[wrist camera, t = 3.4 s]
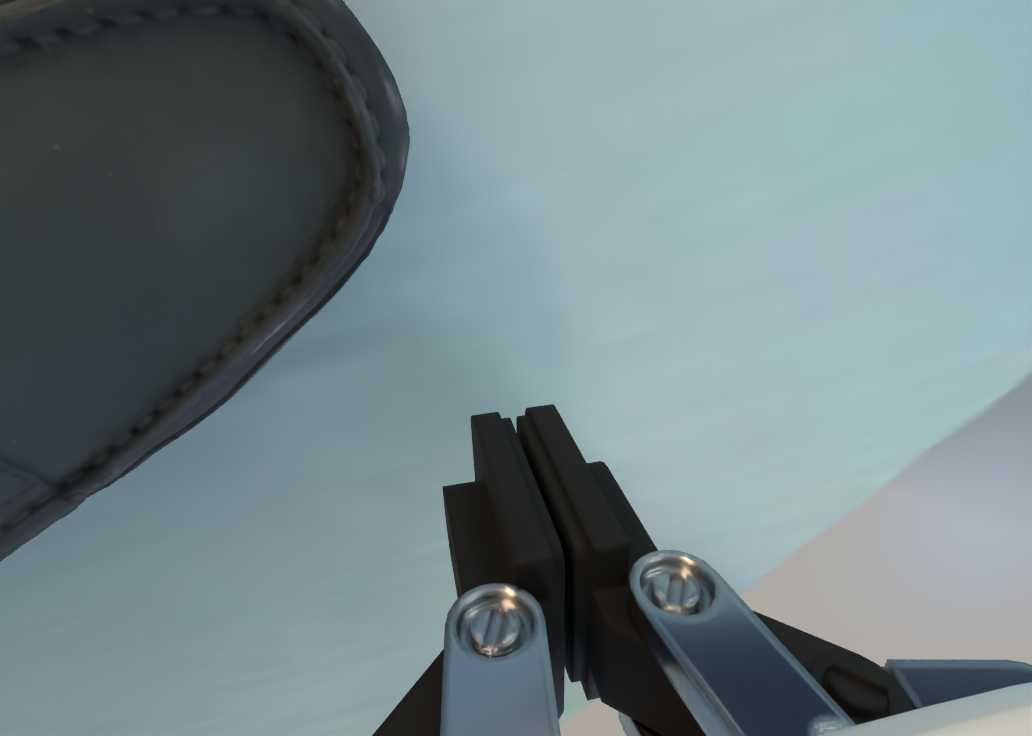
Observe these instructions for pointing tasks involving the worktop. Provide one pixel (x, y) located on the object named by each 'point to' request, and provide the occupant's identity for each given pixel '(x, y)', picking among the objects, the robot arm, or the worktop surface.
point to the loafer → (170, 218)
